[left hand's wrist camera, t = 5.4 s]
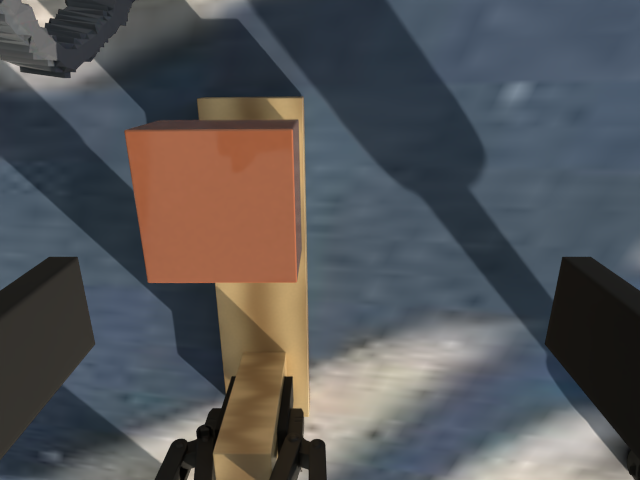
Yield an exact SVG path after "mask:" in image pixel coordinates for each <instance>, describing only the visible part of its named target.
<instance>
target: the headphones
mask: <svg viewBox="0 0 640 480" xmlns="http://www.w3.org/2000/svg"><path fill="white" fill-rule="evenodd" d="M627 467H628V470H629V474H630V475H632V476H633V478H634V479H635V480H640V460H639V459H638V457H637V456H636V455H635V454H634V452H633V451H632V450H631V451H630V453H629V454H628V458H627Z"/></svg>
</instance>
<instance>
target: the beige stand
mask: <svg viewBox="0 0 640 480" xmlns="http://www.w3.org/2000/svg"><path fill="white" fill-rule="evenodd" d="M197 104H198V114H199V120H256V119H298V120H299V151H300V192H301V234H302V252H301V259H300V266H299V273H298V279H297V282H296V283H215V288H216V298H217V308H218V318H219V329H220V339H221V349H222V359H223V369H224V380H225V390H226V393H227V389H228V386H229V383H230V380H231V377H232V376H236V378H235V381H234V385H233V388H232V391H231V395H230V398H229V401H228V404H227V408H226V411H225V414H224V418H223V421H222V424H221V428H220V431H219V434H218V438H217V441H216V444H215V448H214V451H213V461H214V469H215V478H216V480H269V479H270V476H271V473H272V471H273V468H274V466H275V463H276V461H277V458H278V442H277V426H278V419H279V412H280V405H281V398H282V391H283V383H284V376H293V397H294V402H293V408H302V410H303V412H304V417H309V407H310V392H309V343H308V293H307V243H306V194H305V144H304V97H303V96H302V97H203V98H198V99H197Z"/></svg>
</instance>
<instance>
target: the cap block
mask: <svg viewBox="0 0 640 480" xmlns="http://www.w3.org/2000/svg"><path fill="white" fill-rule="evenodd" d="M125 138H126V145H127V151H128V158H129V164H130V171H131V177H132V184H133V190H134V197H135V203H136V209H137V216H138V222H139V229H140V235H141V242H142V248H143V255H144V261H145V268H146V274H147V281H148V283H296V282H297V279H298V273H299V266H300V259H301V252H302V234H301V192H300V151H299V120H298V119H256V120H159V121H155V122H152V123H148V124H145V125H141V126H138V127H134V128H131V129H127V130H125Z"/></svg>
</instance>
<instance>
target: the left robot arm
mask: <svg viewBox="0 0 640 480" xmlns="http://www.w3.org/2000/svg"><path fill="white" fill-rule="evenodd" d="M94 345H95V340H94V336H93V331H92V326H91V321H90V316H89V311H88V306H87V301H86V296H85V291H84V286H83V281H82V276H81V272H80V267H79V262H78V257H48V258H47V259H45V260H44V261H43V262H41V263H40V264H38V265H37V266H35V267H34V268H32V269H31V270H30V271H28V272H27V273H25V274H24V275H22V276H21V277H19V278H18V279H17V280H15V281H14V282H12V283H11V284H9V285H8V286H6V287H5V288H4V289H2V290H1V291H0V460H1V459H2V457H3V456H4V455H5V454H6V452H7V451H8V450H9V449H10V448H11V446H12V445H13V444H14V443H15V441H16V440H17V439H18V438H19V437H20V435H21V434H22V433H23V432H24V430H25V429H26V428H27V427H28V426H29V424H30V423H31V422H32V421H33V419H34V418H35V417H36V416H37V415H38V413H39V412H40V411H41V410H42V409H43V407H44V406H45V405H46V404H47V402H48V401H49V400H50V399H51V398H52V396H53V395H54V394H55V393H56V391H57V390H58V389H59V388H60V387H61V385H62V384H63V383H64V382H65V380H66V379H67V378H68V377H69V376H70V374H71V373H72V372H73V371H74V369H75V368H76V367H77V366H78V365H79V363H80V362H81V361H82V360H83V358H84V357H85V356H86V355H87V354H88V352H89V351H90V350H91V349H92V347H93V346H94ZM545 345H546V346H547V347H548V349H549V350H550V351H551V352H552V354H553V355H554V356H555V357H556V358H557V360H558V361H559V362H560V363H561V365H562V366H563V367H564V368H565V369H566V371H567V372H568V373H569V374H570V376H571V377H572V378H573V379H574V380H575V382H576V383H577V384H578V385H579V387H580V388H581V389H582V390H583V391H584V393H585V394H586V395H587V396H588V398H589V399H590V400H591V401H592V402H593V404H594V405H595V406H596V407H597V409H598V410H599V411H600V412H601V413H602V415H603V416H604V417H605V418H606V419H607V421H608V422H609V423H610V424H611V426H612V427H613V428H614V429H615V430H616V432H617V433H618V434H619V435H620V437H621V438H622V439H623V440H624V441H625V443H626V444H627V445H628V446H629V448H630V449H631V450H632V451H633V452H634V454H635V455H636V456H637V457H638V459H639V460H640V291H639V290H638V289H636V288H635V287H634V286H632V285H631V284H629V283H628V282H626V281H625V280H623V279H622V278H621V277H619V276H618V275H616V274H615V273H613V272H612V271H610V270H609V269H608V268H606V267H605V266H603V265H602V264H600V263H599V262H597V261H596V260H595V259H593V258H592V257H562V262H561V267H560V272H559V276H558V281H557V286H556V291H555V296H554V301H553V306H552V311H551V316H550V321H549V326H548V331H547V336H546V340H545Z"/></svg>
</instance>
